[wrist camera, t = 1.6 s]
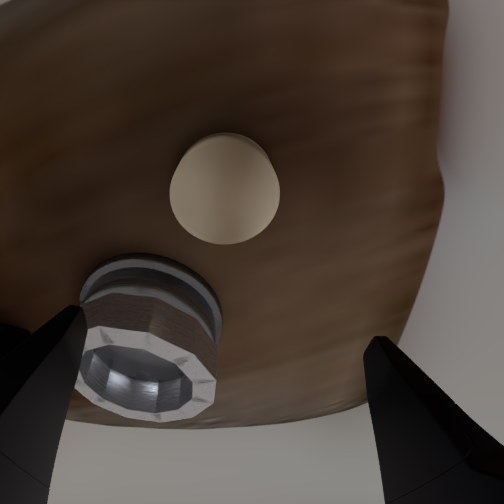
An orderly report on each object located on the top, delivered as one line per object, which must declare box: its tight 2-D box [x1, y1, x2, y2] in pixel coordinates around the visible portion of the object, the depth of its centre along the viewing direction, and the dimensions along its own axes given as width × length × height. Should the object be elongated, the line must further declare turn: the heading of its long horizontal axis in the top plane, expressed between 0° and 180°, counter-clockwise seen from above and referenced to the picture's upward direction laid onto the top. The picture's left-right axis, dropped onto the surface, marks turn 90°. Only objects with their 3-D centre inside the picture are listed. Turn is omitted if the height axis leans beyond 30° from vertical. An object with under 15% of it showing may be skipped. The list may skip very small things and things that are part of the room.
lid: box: [170, 132, 280, 244], centre depth 18 cm, size 6×6×3 cm
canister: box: [74, 253, 222, 422], centre depth 22 cm, size 12×12×7 cm
